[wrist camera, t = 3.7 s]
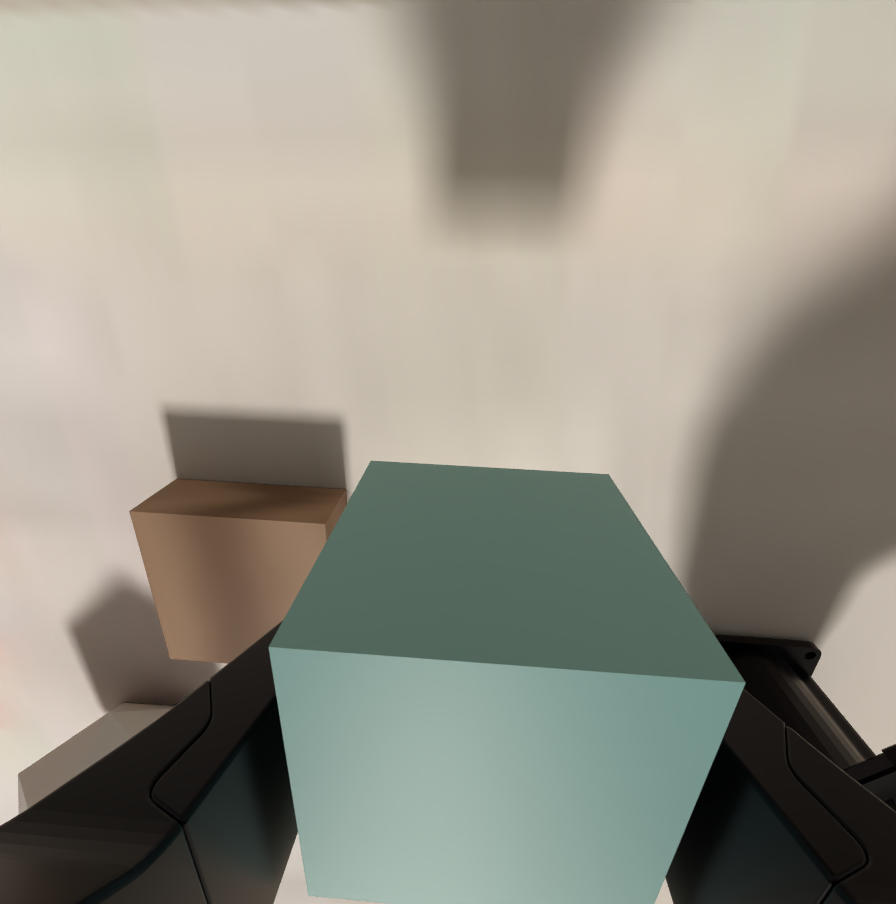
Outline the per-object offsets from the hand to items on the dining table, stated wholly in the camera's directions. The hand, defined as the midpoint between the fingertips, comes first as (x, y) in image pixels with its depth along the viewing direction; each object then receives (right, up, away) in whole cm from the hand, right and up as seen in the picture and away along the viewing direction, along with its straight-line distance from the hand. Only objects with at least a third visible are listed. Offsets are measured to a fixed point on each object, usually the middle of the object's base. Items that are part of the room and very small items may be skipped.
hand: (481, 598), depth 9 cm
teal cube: (0, 0, +1) cm, 1 cm away
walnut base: (-10, -2, +13) cm, 16 cm away
